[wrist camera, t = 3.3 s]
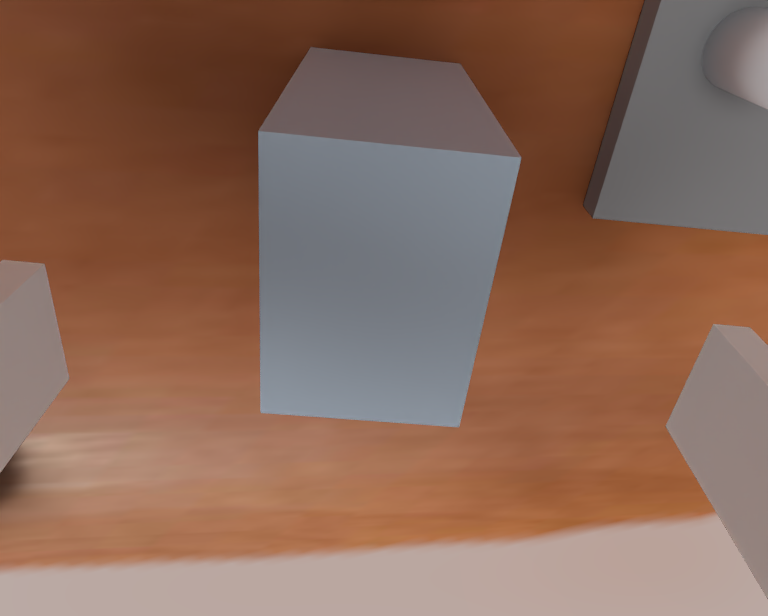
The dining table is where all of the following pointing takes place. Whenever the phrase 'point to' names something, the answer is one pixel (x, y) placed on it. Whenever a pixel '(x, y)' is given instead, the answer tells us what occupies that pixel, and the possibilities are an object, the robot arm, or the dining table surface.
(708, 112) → the board
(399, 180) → the light blue rectangular block
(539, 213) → the dining table surface
